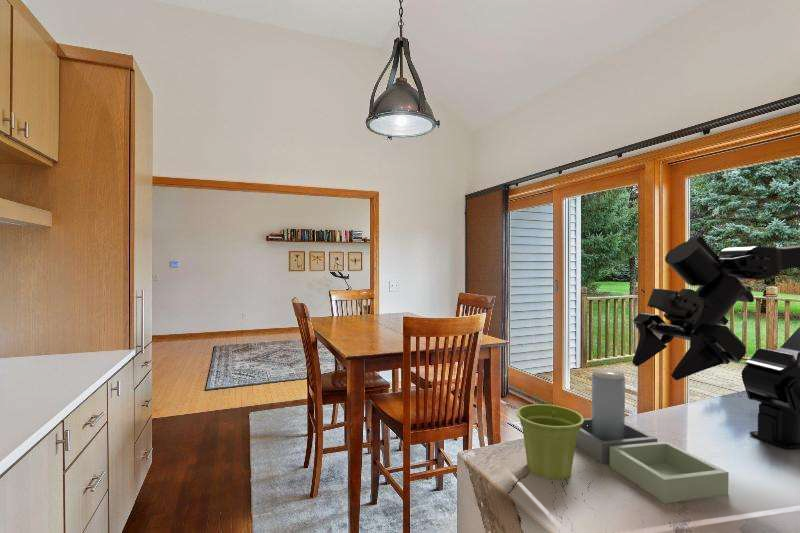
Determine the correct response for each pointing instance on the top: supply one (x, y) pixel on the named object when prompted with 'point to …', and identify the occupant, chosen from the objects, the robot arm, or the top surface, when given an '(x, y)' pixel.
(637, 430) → the charcoal bin
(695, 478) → the sage bin
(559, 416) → the plant pot
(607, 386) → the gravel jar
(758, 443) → the top surface
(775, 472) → the top surface
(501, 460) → the top surface
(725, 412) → the top surface
